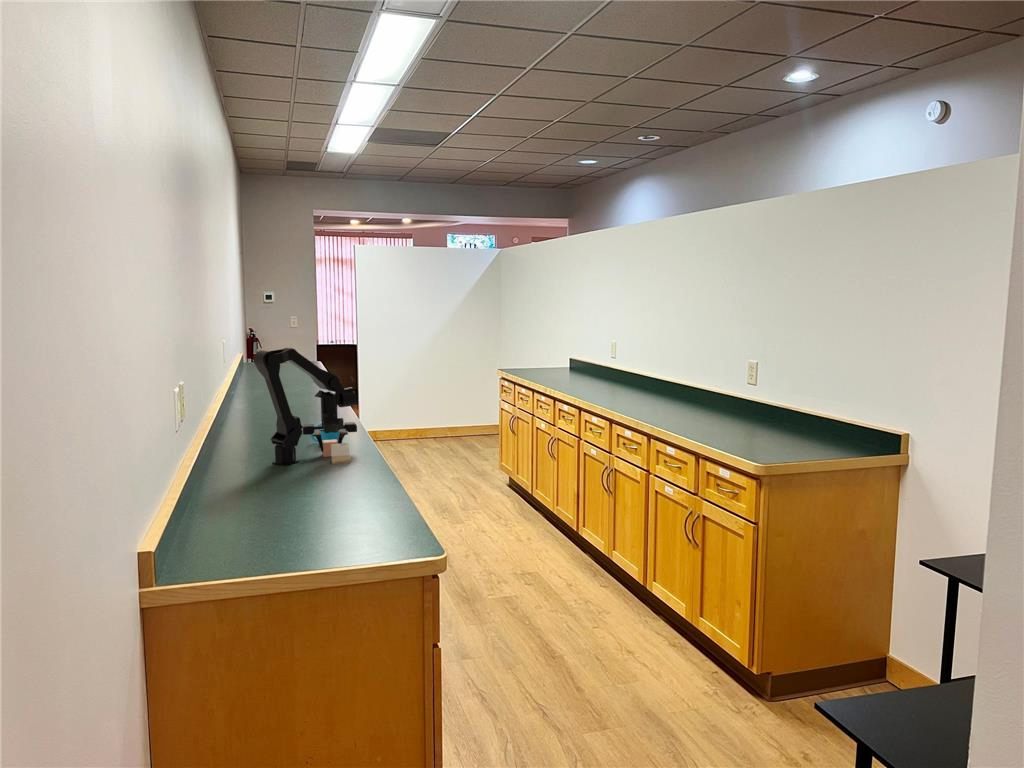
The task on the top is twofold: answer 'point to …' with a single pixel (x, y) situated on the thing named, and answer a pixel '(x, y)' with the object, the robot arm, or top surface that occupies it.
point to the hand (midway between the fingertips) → (330, 451)
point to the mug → (326, 435)
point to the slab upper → (340, 449)
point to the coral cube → (328, 447)
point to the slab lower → (340, 459)
